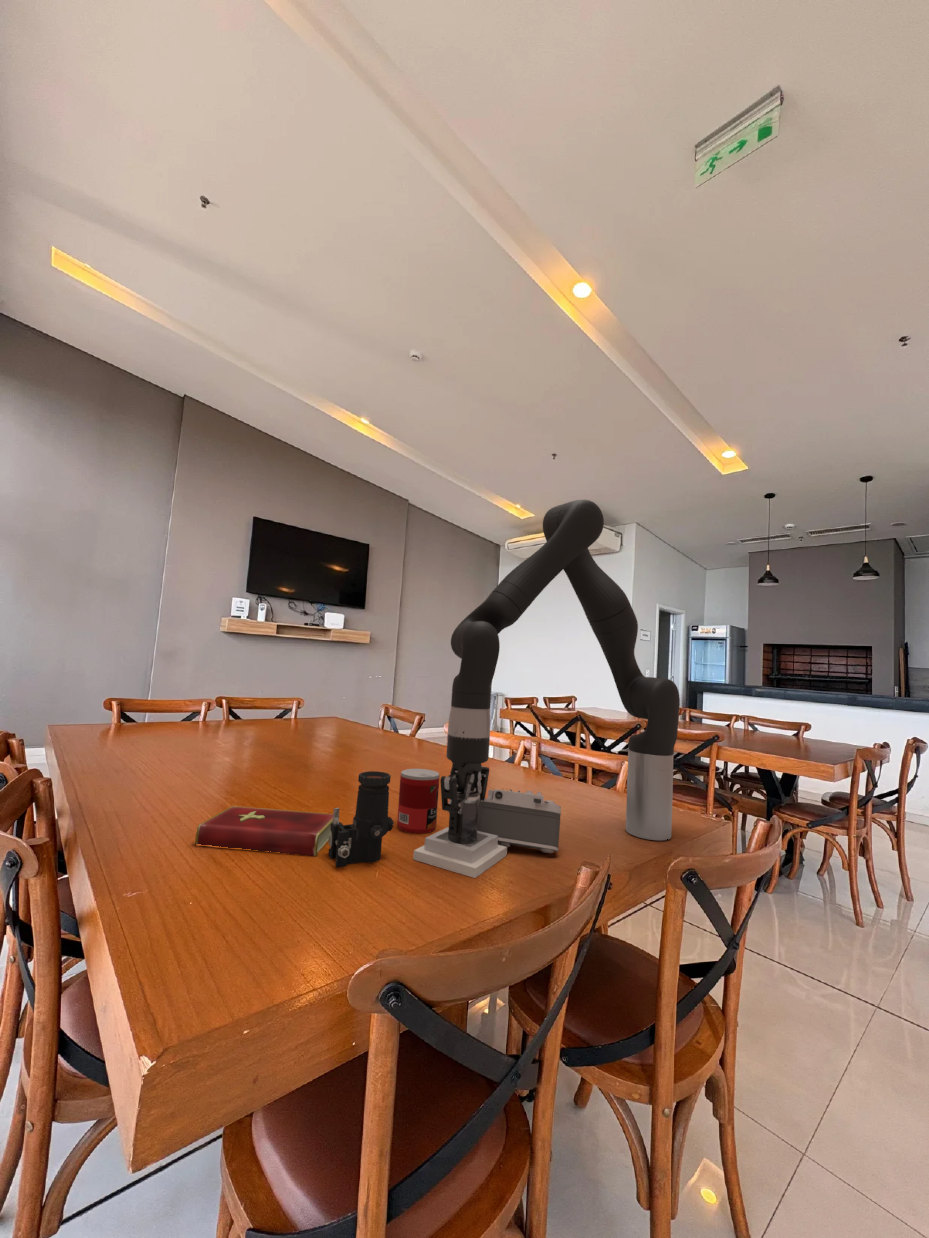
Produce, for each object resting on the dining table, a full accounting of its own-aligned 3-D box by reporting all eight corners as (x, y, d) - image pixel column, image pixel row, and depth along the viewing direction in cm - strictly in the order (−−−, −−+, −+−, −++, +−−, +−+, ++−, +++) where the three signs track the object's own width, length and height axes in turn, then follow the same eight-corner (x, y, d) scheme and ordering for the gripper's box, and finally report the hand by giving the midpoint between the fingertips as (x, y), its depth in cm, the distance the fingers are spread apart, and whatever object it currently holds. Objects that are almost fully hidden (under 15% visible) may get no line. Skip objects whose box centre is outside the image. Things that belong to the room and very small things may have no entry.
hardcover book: (315, 859, 85) (317, 833, 86) (194, 849, 86) (197, 824, 87) (336, 835, 97) (338, 812, 98) (230, 826, 98) (232, 804, 99)
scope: (333, 770, 88) (388, 768, 93) (326, 853, 87) (382, 846, 92) (345, 782, 81) (404, 778, 86) (338, 872, 80) (398, 863, 85)
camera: (559, 853, 90) (563, 793, 95) (470, 838, 93) (478, 780, 98) (555, 857, 98) (558, 802, 103) (473, 844, 101) (481, 790, 106)
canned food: (434, 835, 99) (438, 778, 100) (394, 832, 99) (398, 775, 100) (437, 823, 107) (440, 769, 108) (399, 820, 107) (403, 767, 108)
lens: (457, 832, 93) (459, 787, 93) (481, 838, 90) (484, 792, 91) (442, 839, 88) (445, 792, 89) (467, 846, 86) (470, 798, 86)
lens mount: (449, 840, 97) (450, 821, 97) (506, 855, 91) (507, 835, 91) (413, 859, 87) (414, 838, 87) (475, 878, 81) (476, 855, 81)
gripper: (467, 739, 83) (461, 847, 81) (504, 732, 95) (499, 825, 94) (429, 734, 86) (422, 837, 85) (469, 727, 99) (464, 817, 97)
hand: (462, 830), depth 89 cm, fingers closed on lens, 5 cm apart
